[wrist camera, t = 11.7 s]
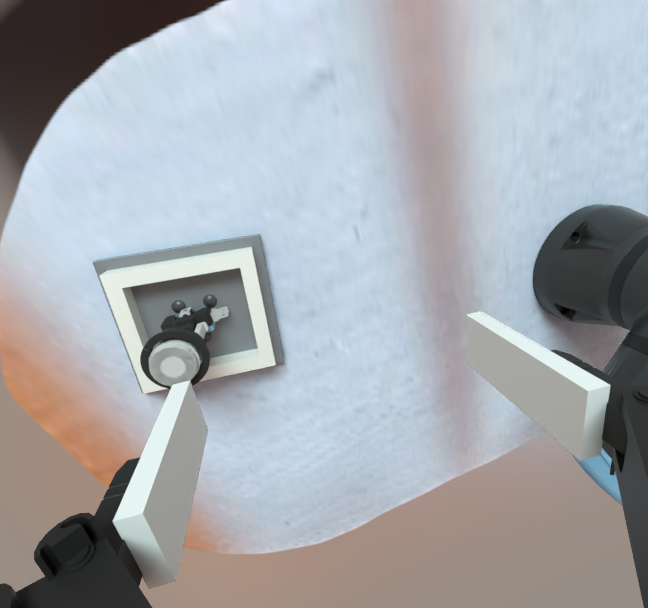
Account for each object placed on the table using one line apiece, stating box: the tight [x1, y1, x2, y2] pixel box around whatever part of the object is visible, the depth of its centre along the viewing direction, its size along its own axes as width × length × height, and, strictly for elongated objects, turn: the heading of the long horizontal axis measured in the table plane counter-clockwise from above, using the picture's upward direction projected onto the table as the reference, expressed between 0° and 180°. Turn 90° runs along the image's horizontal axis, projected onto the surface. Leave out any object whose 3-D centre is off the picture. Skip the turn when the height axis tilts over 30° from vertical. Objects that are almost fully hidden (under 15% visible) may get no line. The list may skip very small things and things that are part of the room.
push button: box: [140, 306, 229, 389], centre depth 32 cm, size 7×5×10 cm
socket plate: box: [93, 234, 284, 394], centre depth 36 cm, size 16×15×3 cm
